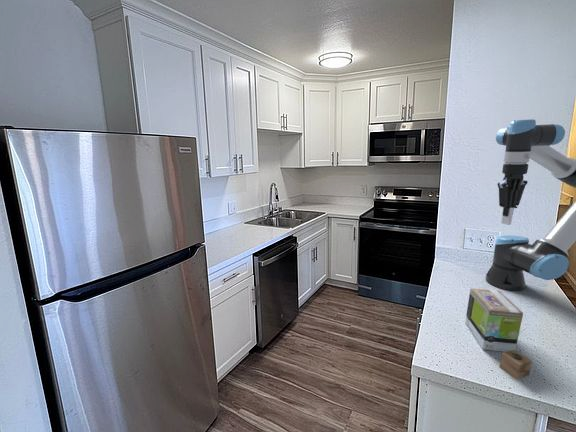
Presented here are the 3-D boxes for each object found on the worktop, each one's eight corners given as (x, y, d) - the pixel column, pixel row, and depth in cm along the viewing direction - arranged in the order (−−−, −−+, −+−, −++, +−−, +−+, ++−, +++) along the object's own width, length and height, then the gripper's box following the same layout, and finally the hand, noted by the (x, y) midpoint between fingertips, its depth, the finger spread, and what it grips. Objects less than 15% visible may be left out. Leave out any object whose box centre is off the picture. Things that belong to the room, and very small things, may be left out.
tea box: (516, 353, 94) (524, 312, 90) (482, 350, 96) (489, 310, 92) (493, 325, 108) (499, 289, 105) (463, 322, 110) (469, 287, 107)
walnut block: (511, 363, 90) (514, 348, 89) (528, 375, 86) (532, 360, 84) (499, 367, 89) (502, 352, 88) (516, 379, 84) (519, 364, 83)
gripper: (513, 165, 104) (503, 228, 110) (539, 162, 108) (527, 224, 114) (493, 163, 111) (484, 223, 117) (517, 161, 115) (508, 219, 121)
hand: (506, 223), depth 115 cm, fingers closed
